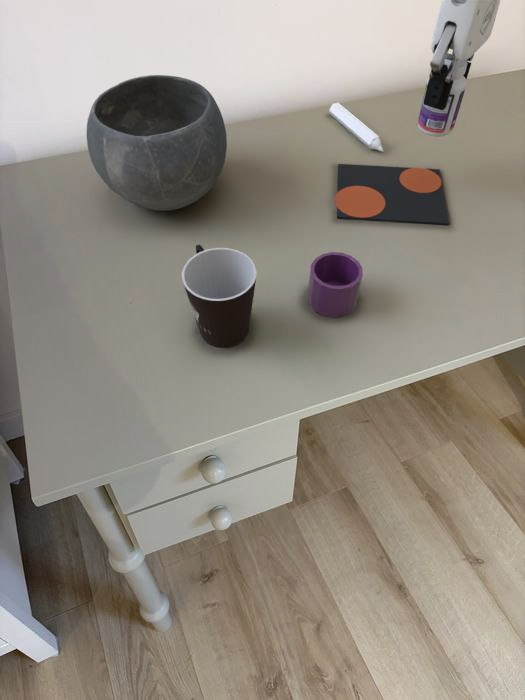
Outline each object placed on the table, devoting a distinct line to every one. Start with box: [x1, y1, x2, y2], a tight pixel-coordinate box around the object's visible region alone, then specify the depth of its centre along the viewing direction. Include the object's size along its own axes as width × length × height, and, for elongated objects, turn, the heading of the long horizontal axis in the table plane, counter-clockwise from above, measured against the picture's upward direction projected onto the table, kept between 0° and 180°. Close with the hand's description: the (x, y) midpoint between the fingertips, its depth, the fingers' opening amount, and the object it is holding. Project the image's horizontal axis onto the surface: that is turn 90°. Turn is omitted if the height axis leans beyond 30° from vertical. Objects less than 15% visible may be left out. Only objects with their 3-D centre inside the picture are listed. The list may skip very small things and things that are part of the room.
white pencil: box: [328, 102, 385, 153], centre depth 95 cm, size 3×2×16 cm
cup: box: [307, 251, 364, 318], centre depth 70 cm, size 7×7×6 cm
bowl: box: [86, 74, 228, 211], centre depth 80 cm, size 20×20×15 cm
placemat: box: [334, 163, 450, 226], centre depth 86 cm, size 18×14×1 cm
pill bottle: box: [416, 59, 468, 138], centre depth 76 cm, size 5×5×10 cm
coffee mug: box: [181, 244, 258, 349], centre depth 66 cm, size 12×9×10 cm
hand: (443, 96), depth 76 cm, fingers closed on pill bottle, 5 cm apart
